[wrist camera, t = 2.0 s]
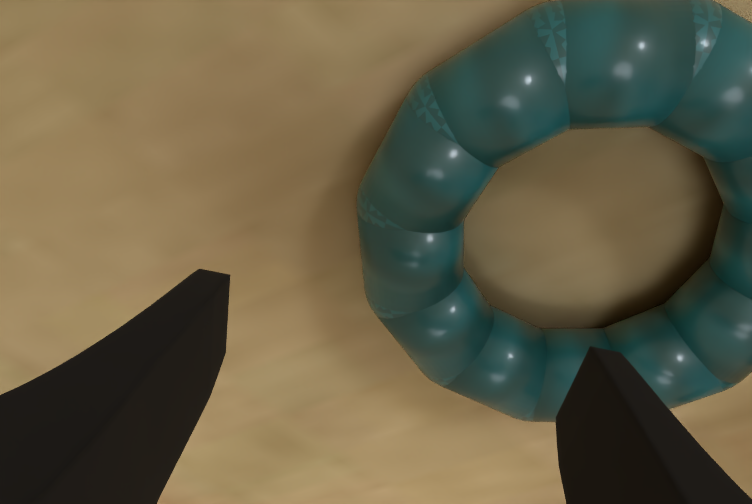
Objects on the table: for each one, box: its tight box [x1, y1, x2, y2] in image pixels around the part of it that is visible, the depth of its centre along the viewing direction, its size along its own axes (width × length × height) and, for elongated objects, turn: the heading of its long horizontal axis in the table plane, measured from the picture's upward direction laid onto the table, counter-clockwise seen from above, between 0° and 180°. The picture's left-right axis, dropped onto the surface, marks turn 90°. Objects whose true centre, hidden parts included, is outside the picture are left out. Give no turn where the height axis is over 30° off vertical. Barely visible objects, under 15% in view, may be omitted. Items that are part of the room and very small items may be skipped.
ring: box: [357, 0, 752, 422], centre depth 17 cm, size 13×13×3 cm
